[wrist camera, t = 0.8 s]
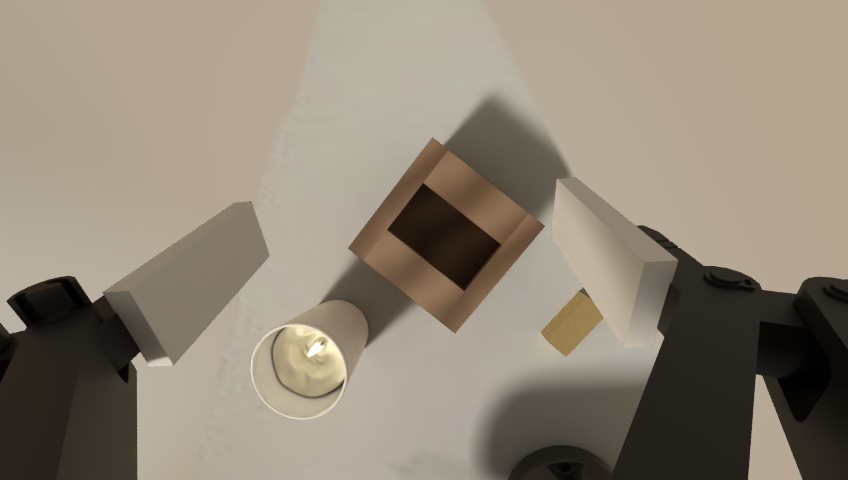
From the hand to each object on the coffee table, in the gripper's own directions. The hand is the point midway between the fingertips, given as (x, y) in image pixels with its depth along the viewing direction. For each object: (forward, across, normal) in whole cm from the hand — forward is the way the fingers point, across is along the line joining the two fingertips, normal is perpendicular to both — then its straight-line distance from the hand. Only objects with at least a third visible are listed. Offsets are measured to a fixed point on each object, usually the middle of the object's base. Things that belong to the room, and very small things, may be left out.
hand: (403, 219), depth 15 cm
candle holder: (+21, +13, +24) cm, 35 cm away
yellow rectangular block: (+20, -16, +24) cm, 36 cm away
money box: (+25, -2, +13) cm, 28 cm away
